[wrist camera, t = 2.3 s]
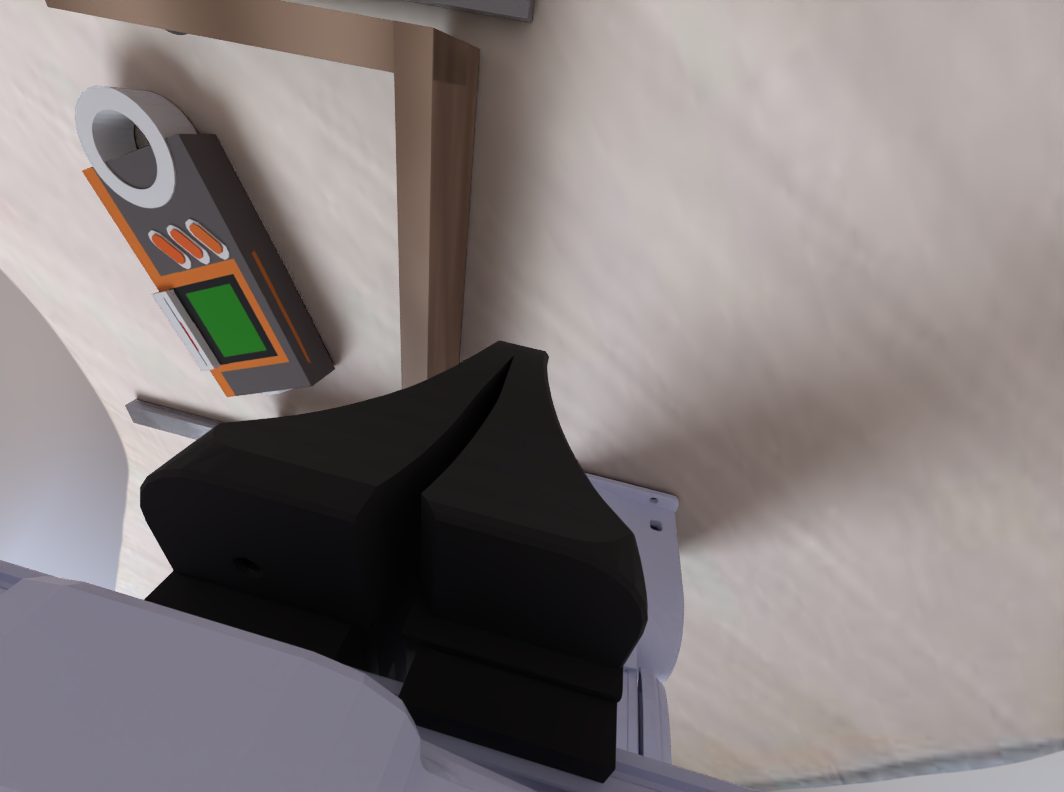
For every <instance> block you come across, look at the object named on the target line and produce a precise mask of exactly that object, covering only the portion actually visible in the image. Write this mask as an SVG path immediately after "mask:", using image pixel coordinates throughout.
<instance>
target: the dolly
mask: <svg viewBox="0 0 1064 792" xmlns="http://www.w3.org/2000/svg"><path fill="white" fill-rule="evenodd" d="M45 1H46V3H47V6H48V7H51V8H57V9H62V10H67V11H72V12H77V13H83V14H88V15H93V16H98V17H104V18H109V19H114V20H119V21H124V22H130V23H135V24H140V25H145V26H151V27H156V28H161V29H165V30H167V31H168V32H171V33H173V34H177V35H185V34H187V33H188V34H193V35H198V36H203V37H209V38H214V39H219V40H225V41H230V42H235V43H240V44H246V45H251V46H256V47H261V48H267V49H272V50H277V51H282V52H288V53H293V54H298V55H304V56H309V57H314V58H319V59H325V60H330V61H335V62H340V63H346V64H351V65H356V66H361V67H367V68H372V69H377V70H383V71H388V72H393V73H394V81H395V123H396V164H397V205H398V247H399V288H400V330H401V371H402V389H405V388H408V387H410V386H413V385H415V384H418V383H420V382H423V381H425V380H427V379H429V378H431V377H433V376H436V375H438V374H440V373H442V372H444V371H446V370H448V369H450V368H452V367H454V366H456V365H458V364H459V357H460V342H461V326H462V311H463V296H464V281H465V266H466V251H467V236H468V221H469V206H470V190H471V175H472V160H473V145H474V130H475V115H476V100H477V85H478V70H479V54H480V49H479V48H476V47H474V46H472V45H470V44H468V43H465V42H463V41H461V40H459V39H457V38H454V37H452V36H450V35H448V34H446V33H443V32H441V31H439V30H437V29H435V28H432V27H426V26H421V25H415V24H410V23H404V22H398V21H391V20H385V19H380V18H374V17H369V16H363V15H358V14H352V13H346V12H341V11H335V10H330V9H324V8H319V7H313V6H308V5H302V4H296V3H291V2H285V1H280V0H45Z"/></svg>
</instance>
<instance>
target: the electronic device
mask: <svg viewBox="0 0 1064 792" xmlns="http://www.w3.org/2000/svg"><path fill="white" fill-rule="evenodd" d="M75 122H76V129H77V133H78V136H79V140H80V142H81V145H82V147H83V150H84V152H85V154H86V156H87V157H88V159H89V161H90V163H91V165H92V166H93V167H90V168H88V169H85V170H83V171H82V172H83V173H84V175H85V176H86V178H87V180H88V181H89V183H90V184H91V186H92V187H93V189H94V190H95V192H96V194H97V195H98V197H99V198H100V200H101V201H102V203H103V204H104V206H105V208H106V209H107V211H108V212H109V214H110V215H111V217H112V219H113V220H114V222H115V223H116V225H117V226H118V228H119V229H120V231H121V233H122V234H123V236H124V237H125V239H126V240H127V242H128V243H129V245H130V247H131V248H132V250H133V251H134V253H135V254H136V256H137V257H138V259H139V261H140V262H141V264H142V265H143V267H144V268H145V270H146V272H147V273H148V275H149V276H150V278H151V279H152V281H153V282H154V284H155V286H156V287H157V289H158V290H159V292H157V293H154V294H151V295H152V297H153V298H154V300H155V301H156V303H157V304H158V306H159V307H160V309H161V310H162V312H163V313H164V315H165V317H166V318H167V320H168V321H169V323H170V324H171V326H172V327H173V329H174V330H175V332H176V333H177V335H178V336H179V338H180V340H181V341H182V343H183V344H184V346H185V347H186V349H187V350H188V352H189V353H190V355H191V356H192V358H193V359H194V361H195V363H196V364H197V366H198V367H199V369H200V370H201V371H204V370H210V371H211V373H212V374H213V376H214V378H215V379H216V381H217V382H218V384H219V385H220V387H221V389H222V390H223V392H224V393H225V395H226V396H227V397H231V396H239V395H247V394H255V393H262V394H265V395H273V394H280V393H283V392H286V391H288V390H291V389H295V388H303V387H311V386H313V385H314V384H316V383H317V382H318V381H320V380H321V379H322V378H324V377H325V376H326V375H328V374H329V373H330V372H332V371H333V370H334V369H335V368H334V366H333V364H332V362H331V360H330V358H329V356H328V353H327V351H326V349H325V347H324V345H323V343H322V341H321V339H320V337H319V335H318V333H317V331H316V329H315V327H314V325H313V323H312V321H311V319H310V317H309V315H308V313H307V311H306V309H305V306H304V304H303V302H302V300H301V298H300V296H299V294H298V292H297V290H296V288H295V286H294V284H293V282H292V280H291V278H290V276H289V274H288V272H287V270H286V268H285V266H284V264H283V262H282V260H281V258H280V256H279V254H278V252H277V250H276V249H275V247H274V245H273V243H272V241H271V239H270V237H269V235H268V233H267V231H266V230H265V228H264V226H263V224H262V222H261V220H260V218H259V216H258V214H257V212H256V211H255V209H254V207H253V205H252V203H251V201H250V199H249V197H248V195H247V193H246V191H245V190H244V188H243V186H242V184H241V182H240V180H239V178H238V176H237V174H236V172H235V171H234V169H233V167H232V165H231V163H230V161H229V159H228V157H227V155H226V153H225V152H224V150H223V148H222V146H221V144H220V142H219V140H218V138H217V136H216V135H214V134H197V132H196V130H195V129H194V127H193V125H192V124H191V123H190V121H189V120H188V119H187V118H186V116H185V115H184V114H183V113H182V112H181V111H180V110H179V109H178V108H177V107H176V106H175V105H174V104H172V103H171V102H170V101H169V100H167V99H165V98H164V97H162V96H160V95H158V94H156V93H153V92H150V91H143V90H134V89H124V88H115V87H106V86H94V87H90V88H88V89H86V90H85V91H84V92H82V94H81V95H80V97H79V98H78V101H77V104H76V108H75ZM134 124H136V125H137V126H138V127H139V129H140V130H141V131H142V132H143V134H144V135H145V137H146V138H147V140H148V141H149V143H150V145H147V146H145V147H142V148H140V149H137V147H136V145H135V140H134Z"/></svg>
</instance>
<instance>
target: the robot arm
mask: <svg viewBox="0 0 1064 792" xmlns="http://www.w3.org/2000/svg"><path fill="white" fill-rule="evenodd" d="M548 359H549V356H548V354H547V353H546V351H542V350H537V349H533V348H529V347H525V346H520V345H516V344H512V343H508V342H503V341H498V342H496V343H494V344H492V345H491V346H489V347H487V348H486V349H484V350H482V351H481V352H479V353H477V354H476V355H474V356H472V357H470V358H469V359H467V360H465V361H463V362H461V363H460V364H458V365H456V366H454V367H452V368H450V369H448V370H446V371H444V372H442V373H440V374H438V375H436V376H433V377H431V378H429V379H427V380H425V381H423V382H420V383H418V384H415V385H413V386H410V387H408V388H405V389H402V390H399V391H396V392H393V393H390V394H387V395H384V396H381V397H377V398H373V399H369V400H366V401H362V402H358V403H354V404H351V405H347V406H342V407H338V408H333V409H328V410H323V411H317V412H311V413H305V414H299V415H293V416H285V417H277V418H268V419H258V420H249V421H239V422H228V423H219V424H218V425H216V426H215V427H214V428H212V429H211V430H210V431H208V432H207V433H206V434H204V435H203V436H201V437H200V438H199V439H197V440H196V441H195V442H193V443H192V444H191V445H189V446H188V447H187V448H185V449H184V450H182V451H181V452H180V453H178V454H177V455H176V456H174V457H173V458H172V459H170V460H169V461H168V462H166V463H165V464H163V465H162V466H161V467H159V468H158V469H157V470H155V471H154V472H153V473H151V474H150V475H149V476H147V478H146V479H145V481H144V482H143V484H142V485H141V487H140V507H141V510H142V512H143V515H144V517H145V520H146V522H147V524H148V526H149V527H150V529H151V531H152V533H153V534H154V536H155V538H156V540H157V542H158V543H159V545H160V547H161V549H162V550H163V552H164V554H165V556H166V558H167V559H168V561H169V563H170V565H171V566H172V568H173V570H174V571H173V572H172V573H171V574H170V575H169V576H168V577H167V578H166V579H165V580H164V581H163V582H162V583H161V584H160V585H159V586H158V587H157V588H156V589H155V590H154V591H152V592H151V593H150V594H149V595H148V596H147V597H146V598H145V599H144V600H142V599H138V598H135V597H132V596H129V595H125V594H122V593H119V592H115V591H112V590H109V589H105V588H102V587H99V586H96V585H92V584H89V583H85V582H81V581H75V580H69V579H62V578H58V577H54V576H51V575H48V574H44V573H41V572H38V571H35V570H31V569H28V568H25V567H21V566H18V565H15V564H12V563H8V562H5V561H2V560H0V792H760V791H757V790H753V789H750V788H747V787H744V786H740V785H737V784H734V783H730V782H727V781H724V780H721V779H717V778H714V777H711V776H707V775H704V774H701V773H698V772H694V771H691V770H688V769H684V768H681V767H678V766H675V765H672V760H671V739H670V724H669V713H668V704H667V697H666V692H665V688H664V686H663V685H662V684H661V683H663V682H665V681H666V680H667V679H668V677H669V676H670V674H671V673H672V671H673V668H674V666H675V663H676V661H677V658H678V654H679V650H680V646H681V640H682V633H683V622H684V595H683V585H682V575H681V566H680V556H679V547H678V538H677V528H676V519H675V512H676V510H677V508H678V507H679V500H678V498H677V497H676V496H673V495H670V494H666V493H662V492H658V491H654V490H651V489H647V488H643V487H639V486H635V485H631V484H627V483H623V482H619V481H615V480H611V479H608V478H604V477H600V476H596V475H592V474H588V473H585V472H584V471H583V469H582V467H581V466H580V464H579V463H578V461H577V460H576V458H575V456H574V454H573V452H572V450H571V448H570V446H569V444H568V442H567V440H566V438H565V435H564V433H563V431H562V428H561V426H560V423H559V420H558V418H557V415H556V411H555V408H554V405H553V401H552V397H551V392H550V388H549V382H548V374H547V364H548ZM651 498H656V499H651ZM637 681H638V688H637Z"/></svg>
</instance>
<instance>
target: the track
mask: <svg viewBox="0 0 1064 792" xmlns="http://www.w3.org/2000/svg"><path fill="white" fill-rule="evenodd" d="M404 1H409V2H415V3H421V4H426V5H432V6H438V7H443V8H449V9H455V10H460V11H466V12H472V13H477V14H483V15H489V16H495V17H500V18H506V19H512V20H517V21H523V22H529V23H532V19H533V11H534V2H535V0H404ZM125 406H126V408H127V410H128V412H129V414H130V416H131V418H132V420H133V422H134V423H137V424H141V425H144V426H148V427H152V428H155V429H159V430H163V431H167V432H170V433H174V434H178V435H181V436H185V437H189V438H193V439H196V440H197V439H199V438H200V437H201V436H203V435H204V434H206V433H207V432H208V431H210V430H211V429H212V428H214V427H215V426H216V425H218V424H219V423H224V422H220V421H216V420H213V419H209V418H205V417H201V416H198V415H194V414H190V413H186V412H182V411H179V410H175V409H171V408H167V407H163V406H160V405H156V404H152V403H148V402H145V401H141V400H137V399H135V400H134V401H132V402H130V403H128V404H127V405H125Z"/></svg>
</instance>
